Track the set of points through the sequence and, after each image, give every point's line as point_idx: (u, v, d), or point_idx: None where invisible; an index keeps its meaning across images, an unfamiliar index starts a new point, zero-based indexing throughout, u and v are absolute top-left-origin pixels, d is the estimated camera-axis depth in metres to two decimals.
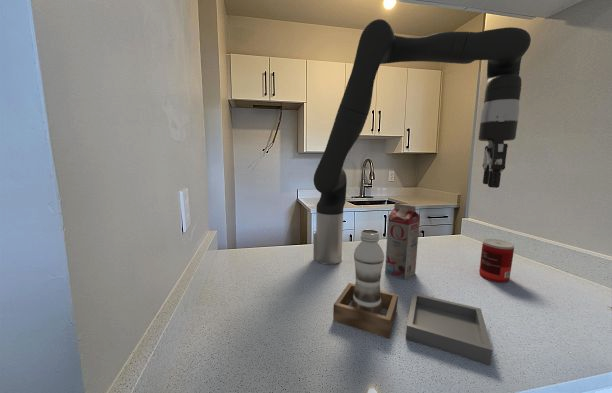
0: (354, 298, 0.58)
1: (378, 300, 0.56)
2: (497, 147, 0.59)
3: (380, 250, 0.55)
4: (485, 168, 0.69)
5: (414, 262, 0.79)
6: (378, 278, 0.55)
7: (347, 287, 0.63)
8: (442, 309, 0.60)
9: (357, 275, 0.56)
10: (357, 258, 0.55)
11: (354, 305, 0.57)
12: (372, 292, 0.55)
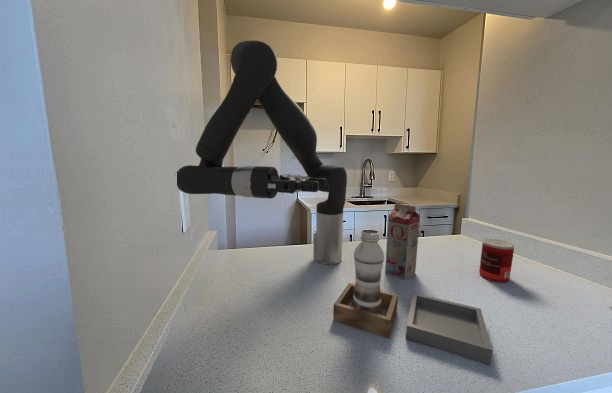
0: (354, 298, 0.58)
1: (378, 300, 0.56)
2: (270, 188, 0.53)
3: (380, 250, 0.55)
4: None
5: (414, 262, 0.79)
6: (378, 278, 0.55)
7: (347, 287, 0.63)
8: (442, 309, 0.60)
9: (357, 275, 0.56)
10: (357, 258, 0.55)
11: (354, 305, 0.57)
12: (372, 292, 0.55)
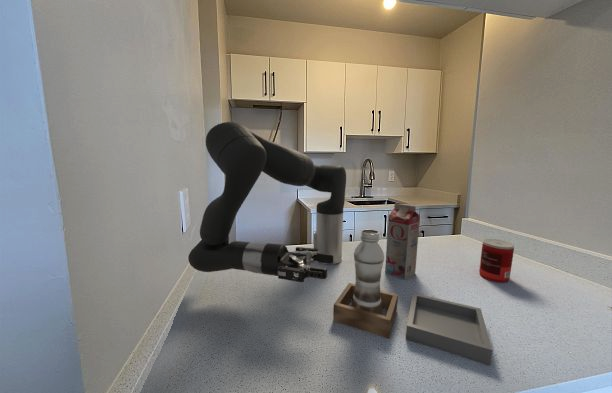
0: (354, 298, 0.58)
1: (378, 300, 0.56)
2: (281, 276, 0.55)
3: (380, 250, 0.55)
4: (316, 261, 0.64)
5: (414, 262, 0.79)
6: (378, 278, 0.55)
7: (347, 287, 0.63)
8: (442, 309, 0.60)
9: (357, 275, 0.56)
10: (357, 258, 0.55)
11: (354, 305, 0.57)
12: (372, 292, 0.55)
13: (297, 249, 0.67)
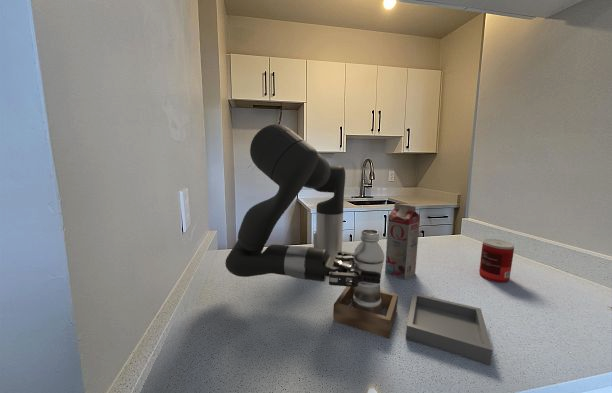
0: (354, 298, 0.58)
1: (378, 300, 0.56)
2: (333, 282, 0.53)
3: (380, 250, 0.55)
4: None
5: (414, 262, 0.79)
6: None
7: (347, 287, 0.63)
8: (442, 309, 0.60)
9: None
10: (357, 258, 0.55)
11: (354, 305, 0.57)
12: (372, 292, 0.55)
13: (339, 253, 0.64)
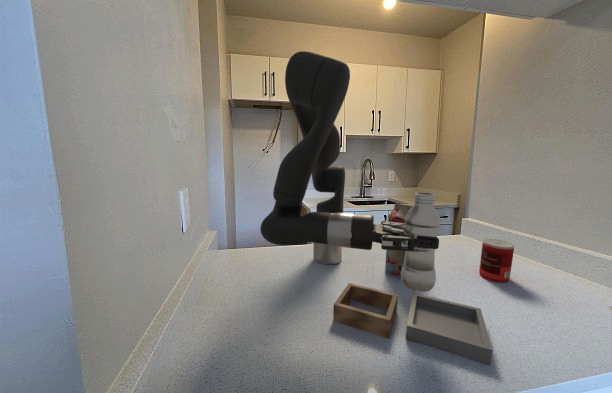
0: (405, 268, 0.52)
1: (433, 269, 0.51)
2: (387, 246, 0.47)
3: (437, 213, 0.50)
4: None
5: None
6: None
7: (347, 287, 0.63)
8: (442, 309, 0.60)
9: None
10: (410, 222, 0.50)
11: (405, 275, 0.52)
12: (427, 260, 0.50)
13: (383, 223, 0.59)
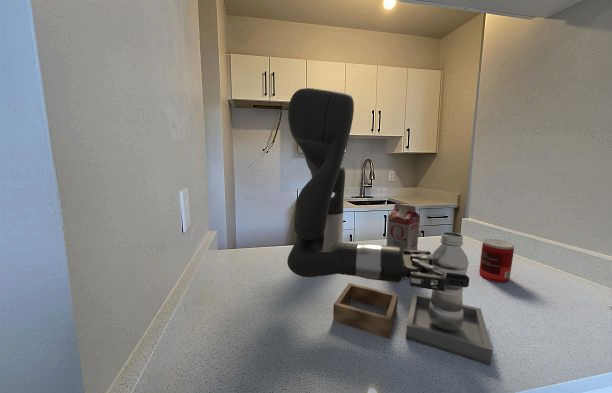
0: (433, 307, 0.53)
1: (461, 309, 0.52)
2: (415, 283, 0.48)
3: (465, 255, 0.50)
4: None
5: None
6: None
7: (347, 287, 0.63)
8: None
9: None
10: (439, 263, 0.51)
11: (433, 315, 0.53)
12: (456, 301, 0.51)
13: (406, 252, 0.60)
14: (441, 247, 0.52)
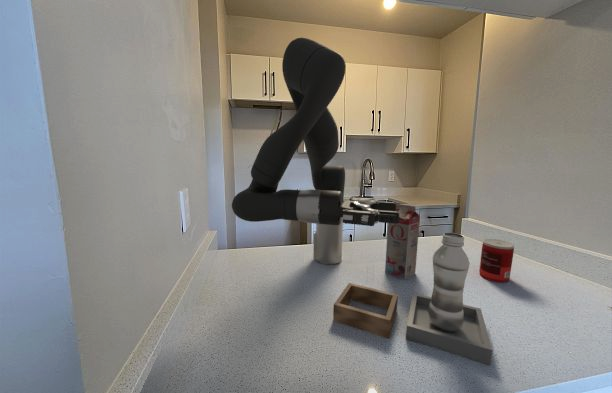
0: (433, 307, 0.53)
1: (461, 310, 0.51)
2: (346, 220, 0.49)
3: (466, 255, 0.50)
4: (375, 210, 0.58)
5: (414, 262, 0.79)
6: (463, 286, 0.51)
7: (347, 287, 0.63)
8: None
9: (438, 282, 0.52)
10: (440, 264, 0.51)
11: (433, 315, 0.53)
12: (456, 301, 0.51)
13: (352, 199, 0.60)
14: (442, 248, 0.52)
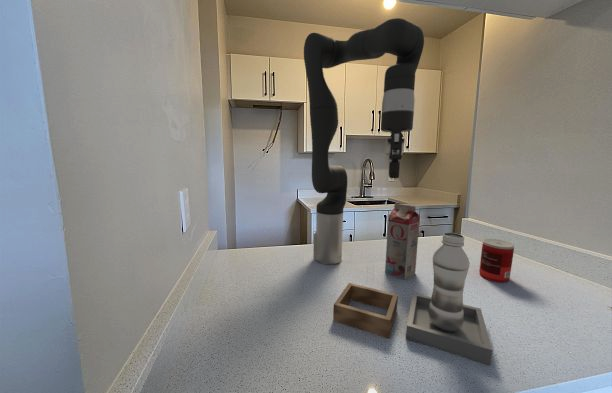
0: (433, 307, 0.53)
1: (461, 310, 0.51)
2: None
3: (466, 255, 0.50)
4: None
5: (414, 262, 0.79)
6: (463, 286, 0.51)
7: (347, 287, 0.63)
8: None
9: (438, 282, 0.52)
10: (440, 264, 0.51)
11: (433, 315, 0.53)
12: (456, 301, 0.51)
13: None
14: (442, 248, 0.52)
